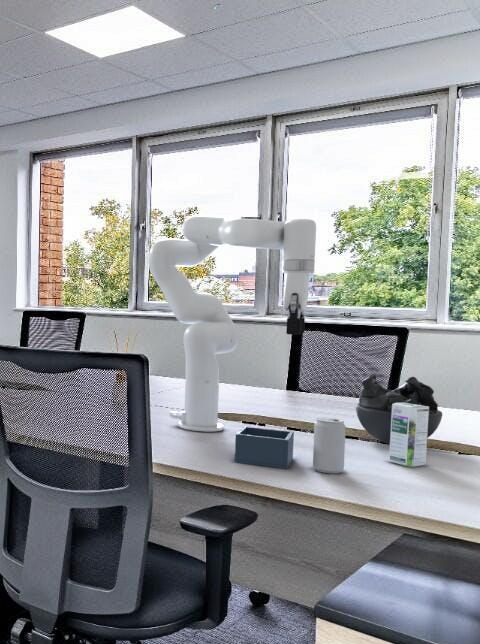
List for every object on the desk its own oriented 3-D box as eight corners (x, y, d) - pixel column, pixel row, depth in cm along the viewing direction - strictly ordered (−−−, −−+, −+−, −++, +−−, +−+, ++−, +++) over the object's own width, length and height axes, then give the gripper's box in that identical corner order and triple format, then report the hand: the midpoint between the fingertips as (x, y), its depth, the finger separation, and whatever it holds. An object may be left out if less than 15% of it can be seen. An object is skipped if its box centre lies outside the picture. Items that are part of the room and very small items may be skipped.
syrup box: (387, 461, 170) (390, 403, 169) (403, 459, 173) (406, 401, 172) (410, 467, 165) (413, 406, 164) (426, 465, 167) (430, 405, 167)
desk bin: (234, 462, 168) (235, 434, 167) (242, 452, 177) (243, 426, 177) (287, 469, 162) (288, 440, 161) (292, 458, 172) (293, 431, 171)
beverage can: (347, 475, 157) (350, 422, 156) (316, 473, 158) (319, 421, 158) (338, 468, 163) (340, 417, 163) (309, 466, 165) (311, 416, 164)
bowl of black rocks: (459, 451, 183) (463, 380, 182) (399, 455, 177) (403, 381, 176) (392, 435, 202) (396, 371, 201) (337, 438, 196) (340, 372, 195)
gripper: (286, 268, 190) (283, 331, 191) (278, 266, 175) (275, 334, 176) (317, 268, 186) (314, 332, 187) (311, 266, 171) (308, 336, 172)
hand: (295, 333), depth 181 cm, fingers open, 9 cm apart
